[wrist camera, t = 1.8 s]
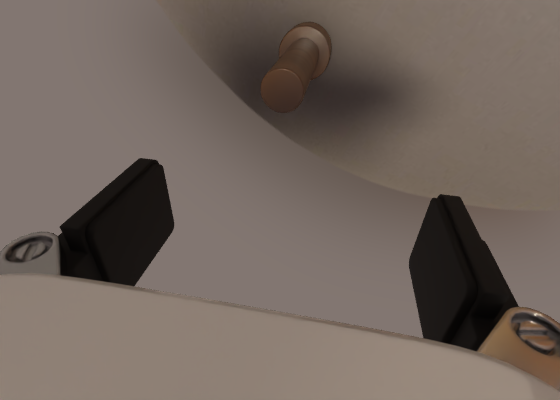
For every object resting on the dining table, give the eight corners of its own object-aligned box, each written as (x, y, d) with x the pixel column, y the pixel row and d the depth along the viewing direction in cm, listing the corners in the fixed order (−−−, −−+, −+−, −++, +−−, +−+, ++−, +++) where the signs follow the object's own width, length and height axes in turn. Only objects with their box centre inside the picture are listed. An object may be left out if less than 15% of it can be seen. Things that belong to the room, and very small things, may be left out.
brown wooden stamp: (274, 46, 30) (230, 86, 19) (310, 10, 28) (284, 31, 17) (304, 82, 32) (279, 141, 20) (341, 51, 30) (335, 96, 18)
